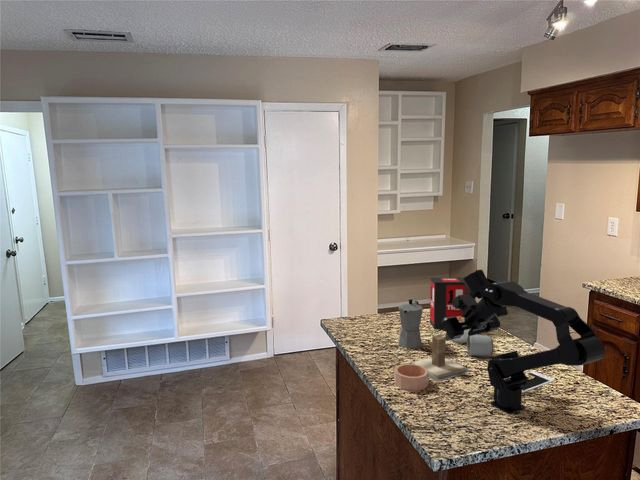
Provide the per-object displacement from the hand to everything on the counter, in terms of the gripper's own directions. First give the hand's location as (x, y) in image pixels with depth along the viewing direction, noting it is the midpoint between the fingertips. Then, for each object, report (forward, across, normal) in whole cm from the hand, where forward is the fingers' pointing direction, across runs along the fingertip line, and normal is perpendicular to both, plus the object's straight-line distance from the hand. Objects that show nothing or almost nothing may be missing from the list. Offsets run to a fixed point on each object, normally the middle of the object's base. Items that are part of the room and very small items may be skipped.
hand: (457, 337), depth 141 cm
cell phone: (+2, -17, +18) cm, 25 cm away
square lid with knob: (+15, +1, +3) cm, 15 cm away
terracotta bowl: (+12, +16, +7) cm, 21 cm away
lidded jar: (+27, -24, -9) cm, 37 cm away
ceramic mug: (+18, -20, +1) cm, 27 cm away
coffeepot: (+31, -4, -12) cm, 33 cm away
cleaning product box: (+37, -33, -20) cm, 54 cm away
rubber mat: (+15, +1, +4) cm, 15 cm away
